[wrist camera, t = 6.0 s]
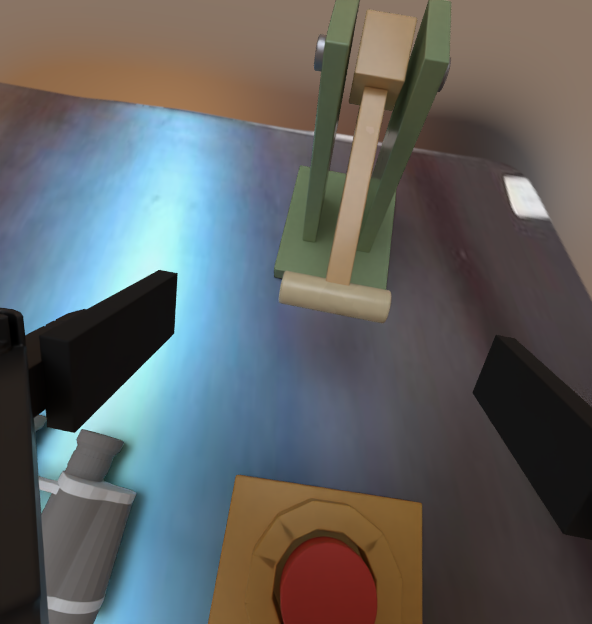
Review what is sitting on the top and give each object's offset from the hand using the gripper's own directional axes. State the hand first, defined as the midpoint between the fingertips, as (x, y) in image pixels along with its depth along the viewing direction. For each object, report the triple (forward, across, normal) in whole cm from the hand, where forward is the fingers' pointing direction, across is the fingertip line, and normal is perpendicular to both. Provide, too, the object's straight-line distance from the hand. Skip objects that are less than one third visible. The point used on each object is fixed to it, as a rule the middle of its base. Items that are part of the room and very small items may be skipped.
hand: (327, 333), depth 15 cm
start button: (-3, +2, -11) cm, 12 cm away
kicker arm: (+6, 0, +6) cm, 8 cm away
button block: (0, +2, -14) cm, 14 cm away
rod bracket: (+16, 0, +2) cm, 16 cm away
